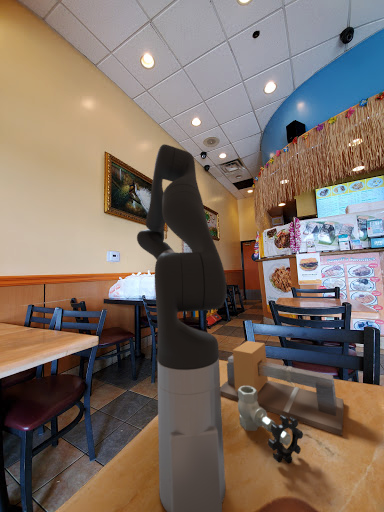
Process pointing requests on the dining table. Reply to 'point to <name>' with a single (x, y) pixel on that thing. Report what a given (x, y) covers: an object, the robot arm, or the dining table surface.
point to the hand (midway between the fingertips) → (201, 300)
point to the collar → (249, 365)
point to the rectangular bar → (297, 381)
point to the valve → (268, 425)
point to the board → (293, 405)
